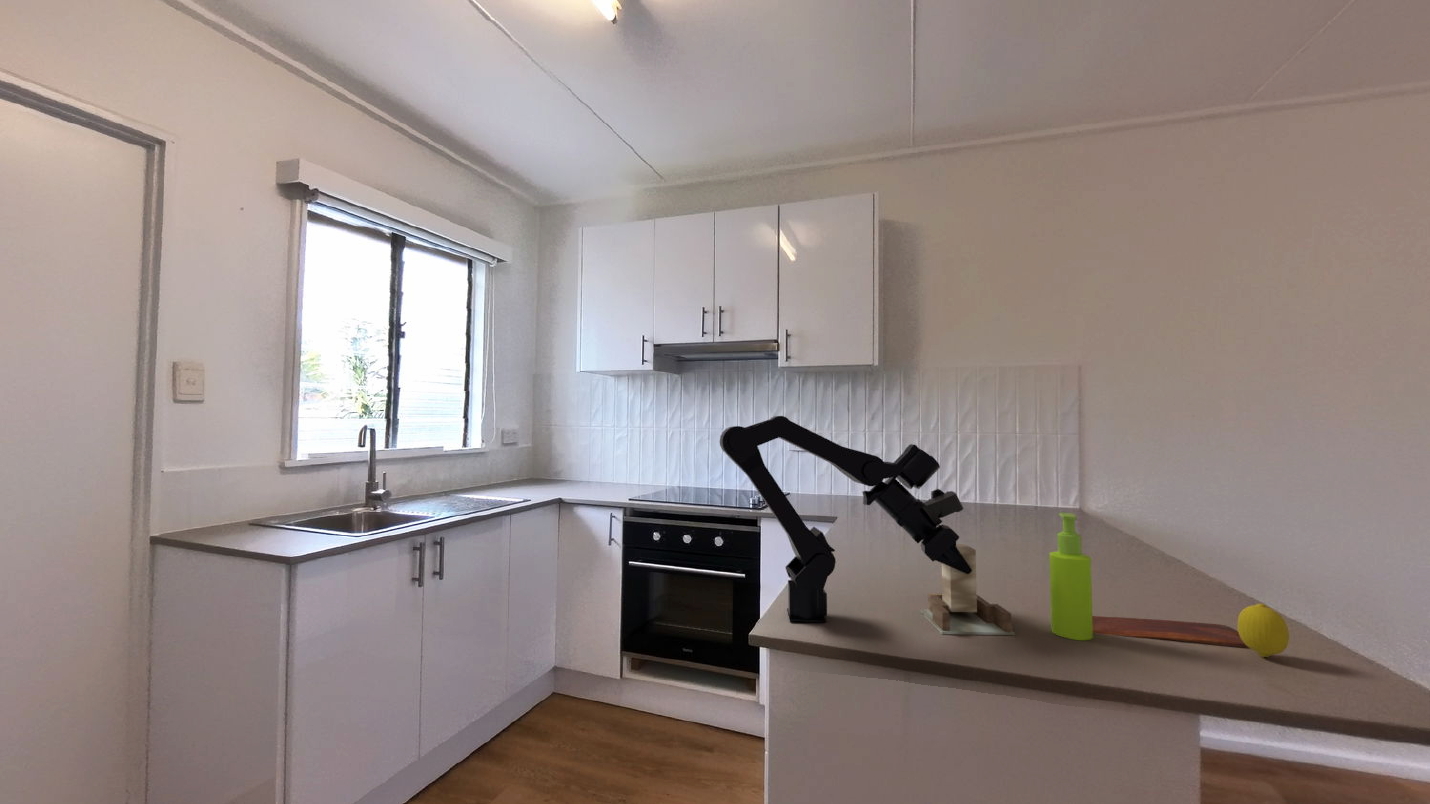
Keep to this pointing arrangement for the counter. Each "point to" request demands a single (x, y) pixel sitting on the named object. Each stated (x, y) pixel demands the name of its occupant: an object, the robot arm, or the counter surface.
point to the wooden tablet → (1168, 630)
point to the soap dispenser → (1070, 585)
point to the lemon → (1263, 630)
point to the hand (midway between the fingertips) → (966, 568)
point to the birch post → (960, 583)
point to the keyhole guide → (968, 618)
